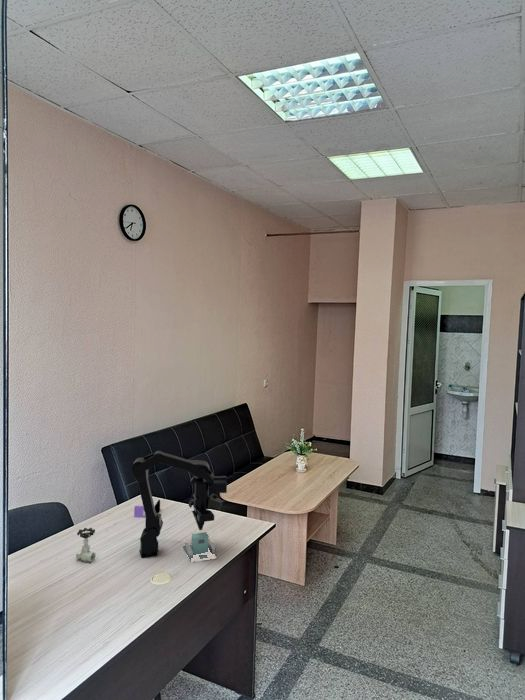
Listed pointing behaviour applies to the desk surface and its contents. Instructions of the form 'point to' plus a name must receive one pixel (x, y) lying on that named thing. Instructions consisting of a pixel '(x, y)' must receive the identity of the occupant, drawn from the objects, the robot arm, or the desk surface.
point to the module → (200, 543)
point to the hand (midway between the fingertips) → (200, 529)
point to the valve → (85, 546)
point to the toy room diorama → (140, 510)
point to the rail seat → (190, 554)
